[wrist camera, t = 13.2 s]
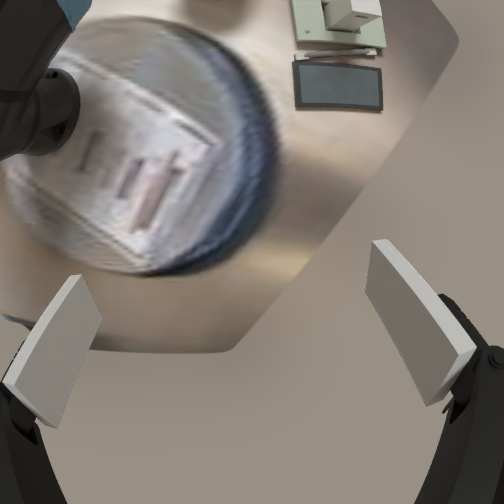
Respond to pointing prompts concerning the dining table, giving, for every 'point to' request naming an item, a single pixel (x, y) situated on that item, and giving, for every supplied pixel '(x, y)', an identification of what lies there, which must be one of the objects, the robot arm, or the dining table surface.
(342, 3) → the block
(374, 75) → the phone
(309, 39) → the outlet plate
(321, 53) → the grey pen
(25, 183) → the dining table surface
